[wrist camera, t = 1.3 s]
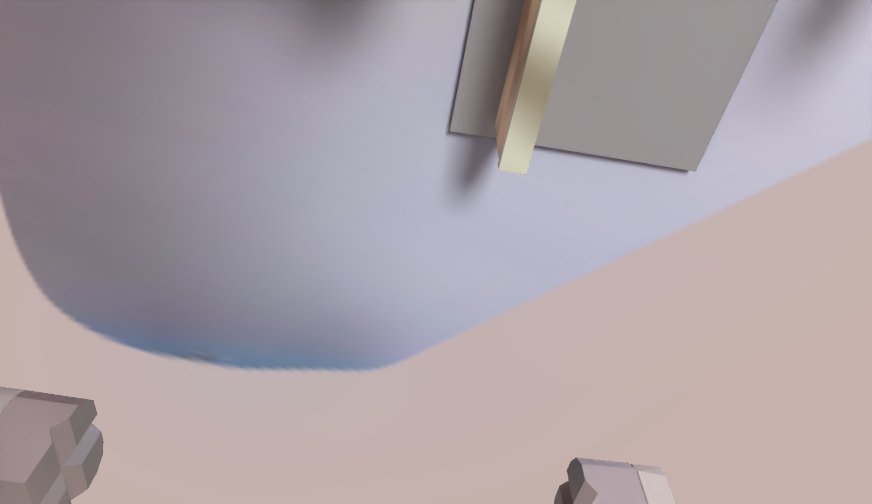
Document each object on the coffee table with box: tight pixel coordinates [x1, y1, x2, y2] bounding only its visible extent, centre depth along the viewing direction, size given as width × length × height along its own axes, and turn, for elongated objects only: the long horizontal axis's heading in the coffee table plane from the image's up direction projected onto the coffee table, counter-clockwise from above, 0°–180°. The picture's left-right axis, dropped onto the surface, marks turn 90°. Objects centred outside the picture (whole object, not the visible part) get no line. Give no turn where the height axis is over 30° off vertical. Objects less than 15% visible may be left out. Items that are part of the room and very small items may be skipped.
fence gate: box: [495, 0, 577, 175], centre depth 28 cm, size 12×1×5 cm, turn 171°
